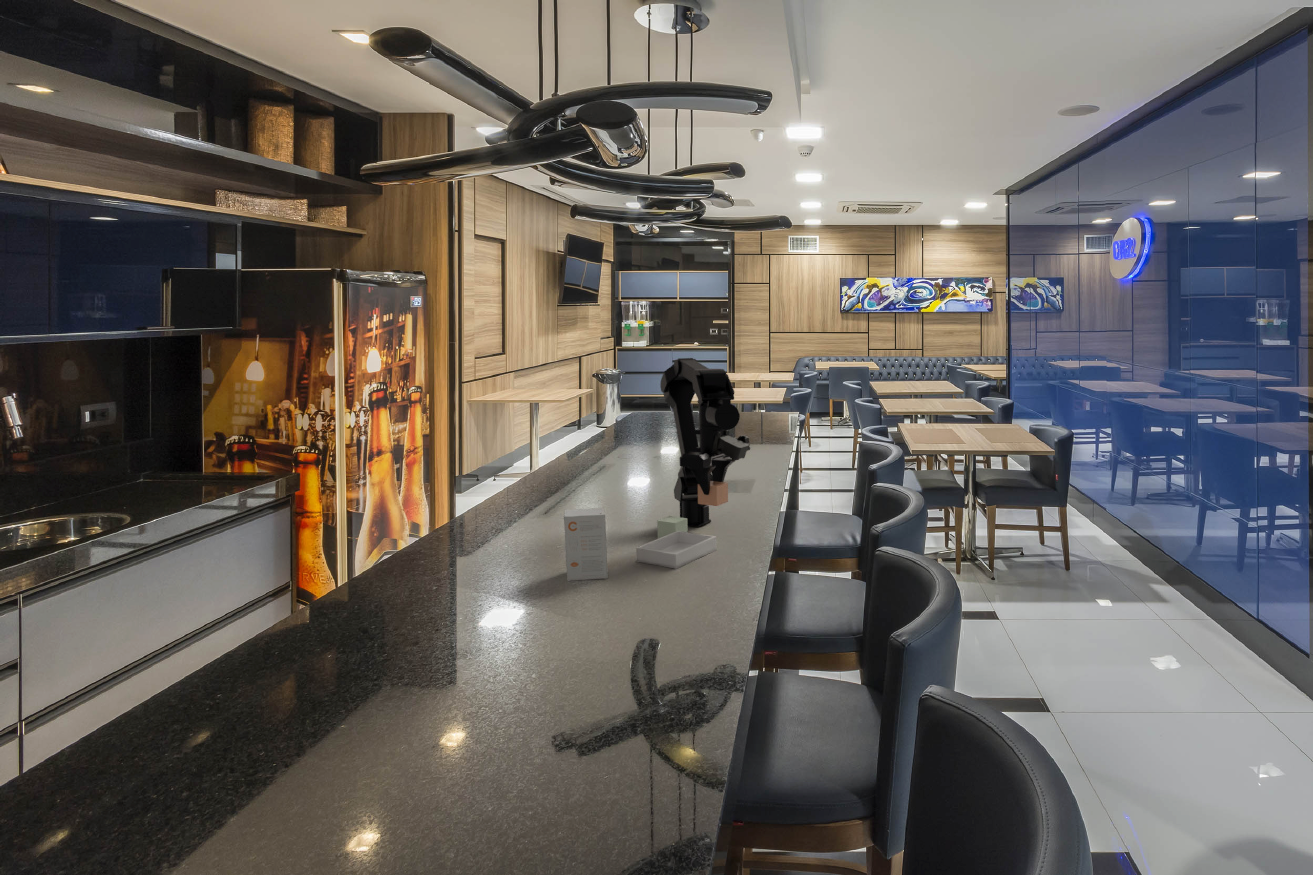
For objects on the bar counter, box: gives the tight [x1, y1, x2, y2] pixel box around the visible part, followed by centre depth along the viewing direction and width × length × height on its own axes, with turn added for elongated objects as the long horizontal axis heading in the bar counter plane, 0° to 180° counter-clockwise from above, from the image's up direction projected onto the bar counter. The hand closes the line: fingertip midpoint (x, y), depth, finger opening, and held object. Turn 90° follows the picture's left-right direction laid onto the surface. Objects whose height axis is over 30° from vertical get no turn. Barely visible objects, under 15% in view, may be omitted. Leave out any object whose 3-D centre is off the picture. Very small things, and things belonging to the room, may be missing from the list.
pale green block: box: [656, 515, 689, 539], centre depth 189 cm, size 5×5×4 cm
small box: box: [563, 507, 609, 582], centre depth 162 cm, size 8×6×13 cm
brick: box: [698, 481, 729, 507], centre depth 187 cm, size 5×5×4 cm
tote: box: [635, 531, 718, 570], centre depth 175 cm, size 10×16×3 cm, turn 145°
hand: (712, 492), depth 187 cm, fingers closed on brick, 5 cm apart
